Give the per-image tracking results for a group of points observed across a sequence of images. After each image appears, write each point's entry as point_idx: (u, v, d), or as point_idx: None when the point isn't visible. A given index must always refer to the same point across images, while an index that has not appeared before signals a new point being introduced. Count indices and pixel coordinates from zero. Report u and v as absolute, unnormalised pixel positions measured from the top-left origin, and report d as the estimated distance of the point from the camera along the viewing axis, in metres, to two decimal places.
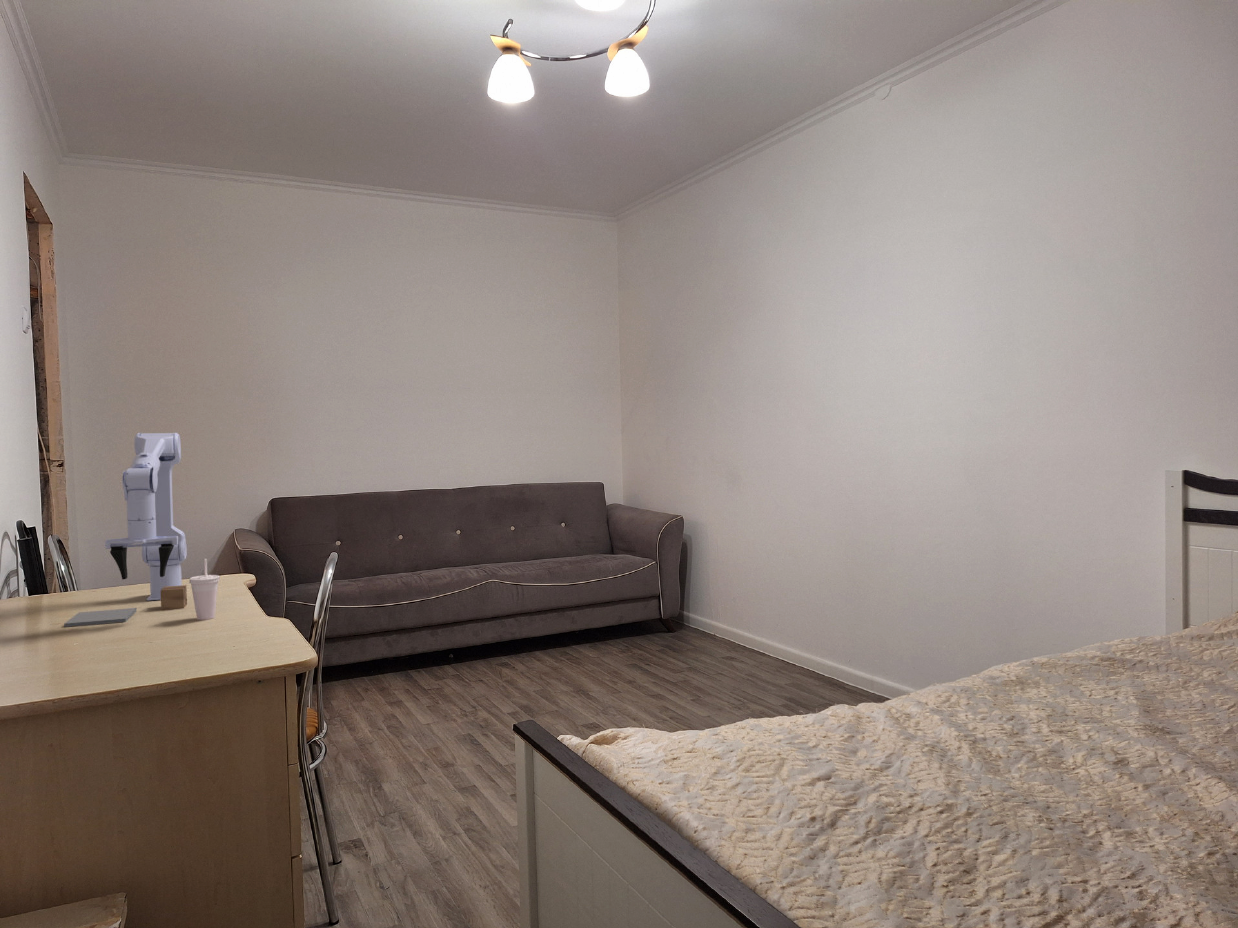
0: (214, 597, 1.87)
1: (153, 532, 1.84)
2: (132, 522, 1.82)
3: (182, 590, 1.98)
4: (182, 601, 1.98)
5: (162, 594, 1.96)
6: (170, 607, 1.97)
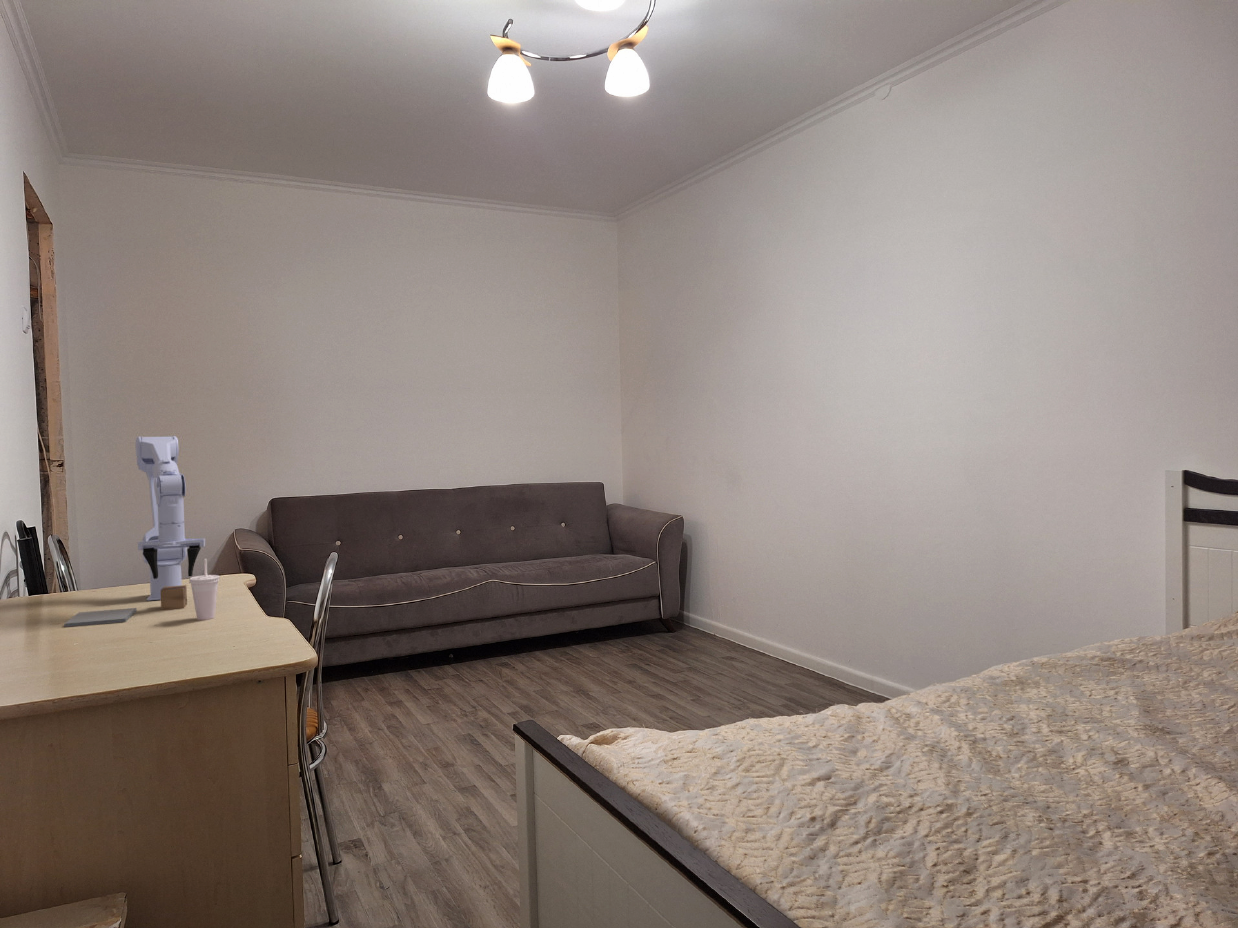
0: (214, 597, 1.87)
1: (182, 535, 1.98)
2: (163, 525, 1.96)
3: (182, 590, 1.98)
4: (182, 601, 1.98)
5: (162, 594, 1.96)
6: (170, 607, 1.97)
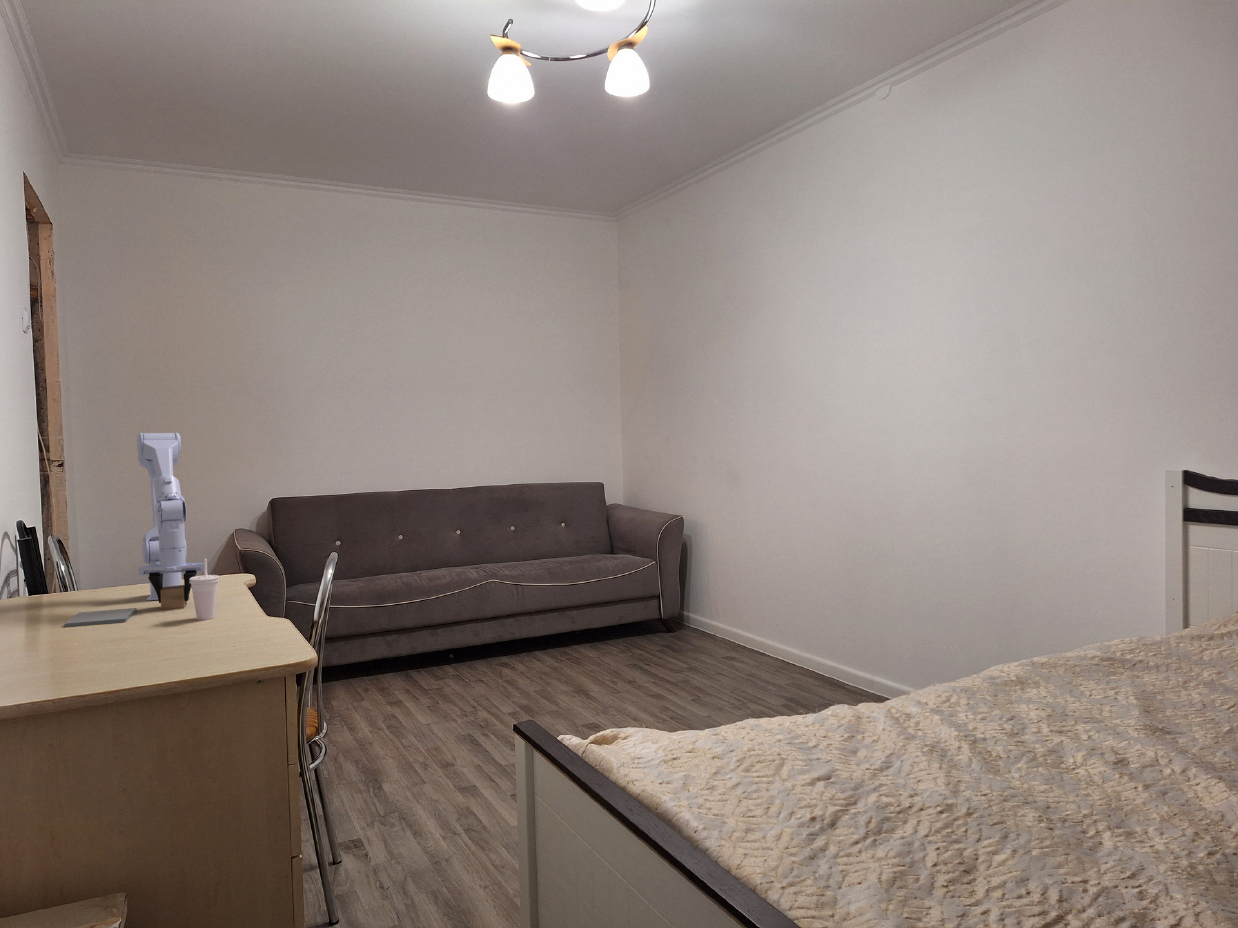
0: (214, 597, 1.87)
1: (183, 559, 1.99)
2: (164, 550, 1.96)
3: (182, 590, 1.98)
4: (182, 601, 1.98)
5: (162, 594, 1.96)
6: (170, 607, 1.97)
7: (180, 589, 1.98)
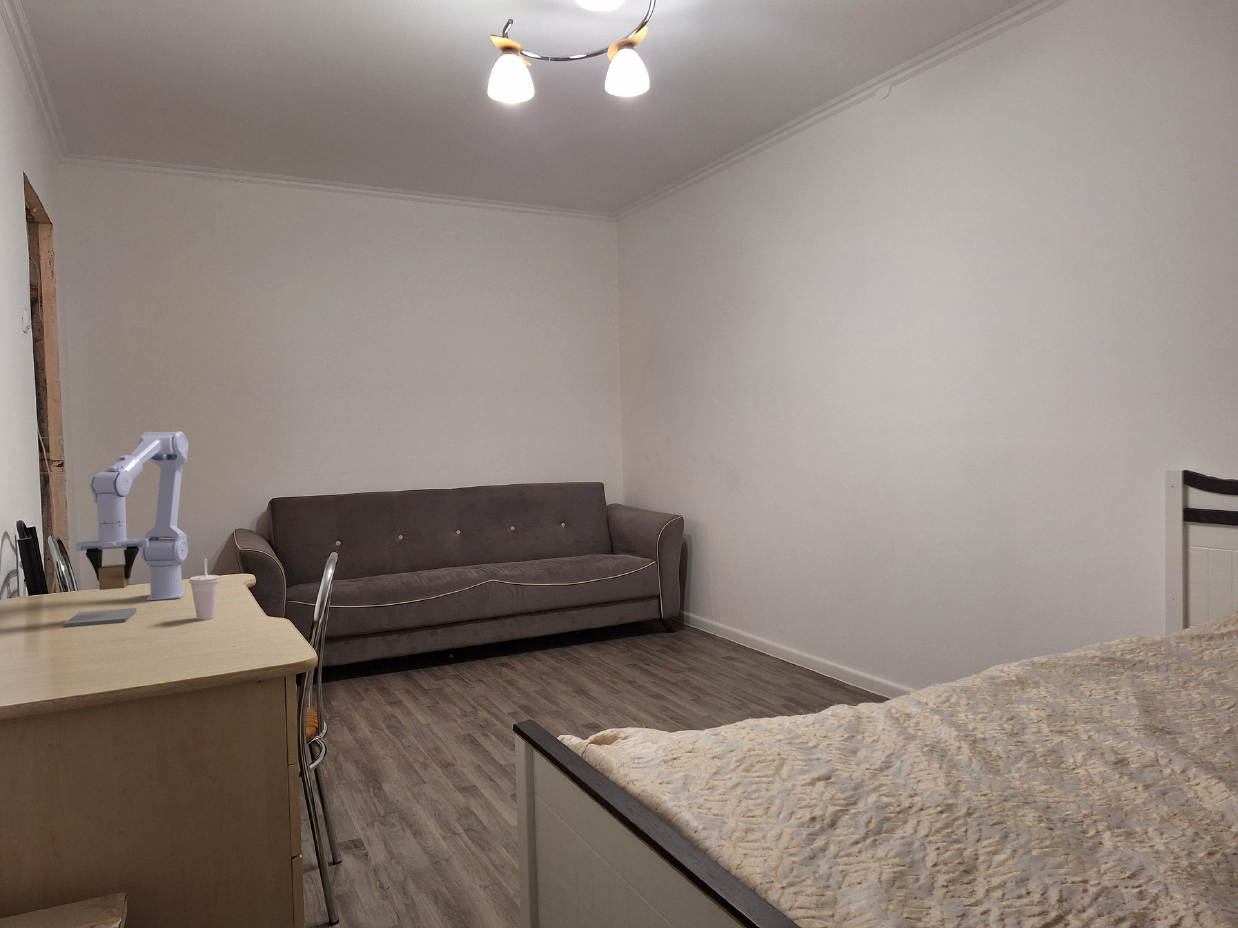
0: (214, 597, 1.87)
1: (123, 535, 1.89)
2: (102, 525, 1.86)
3: (122, 569, 1.87)
4: (122, 580, 1.88)
5: (100, 573, 1.86)
6: (109, 586, 1.87)
7: (120, 568, 1.87)
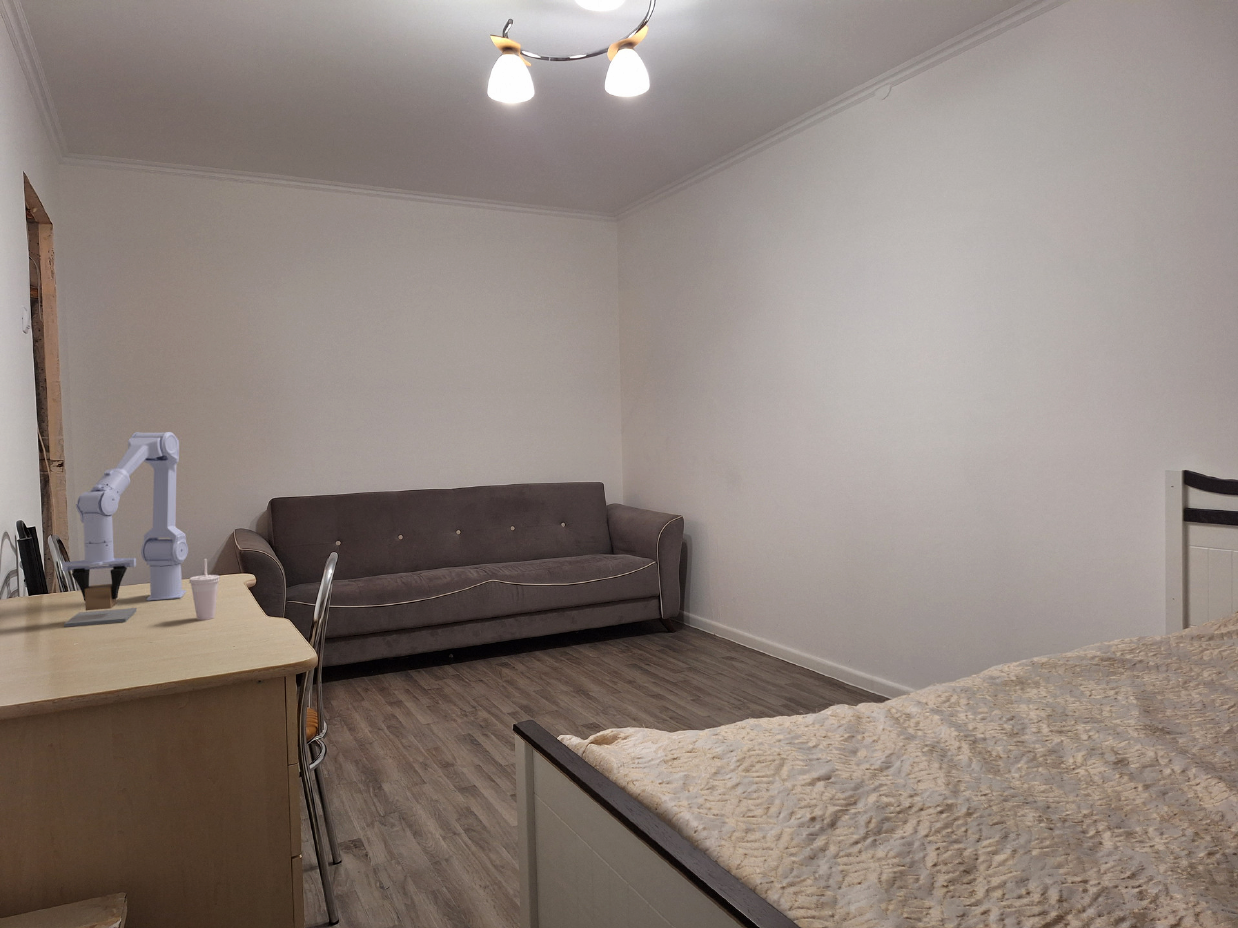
0: (214, 597, 1.87)
1: (110, 554, 1.87)
2: (89, 545, 1.84)
3: (108, 589, 1.86)
4: (108, 600, 1.86)
5: (86, 593, 1.84)
6: (95, 607, 1.85)
7: (106, 588, 1.85)
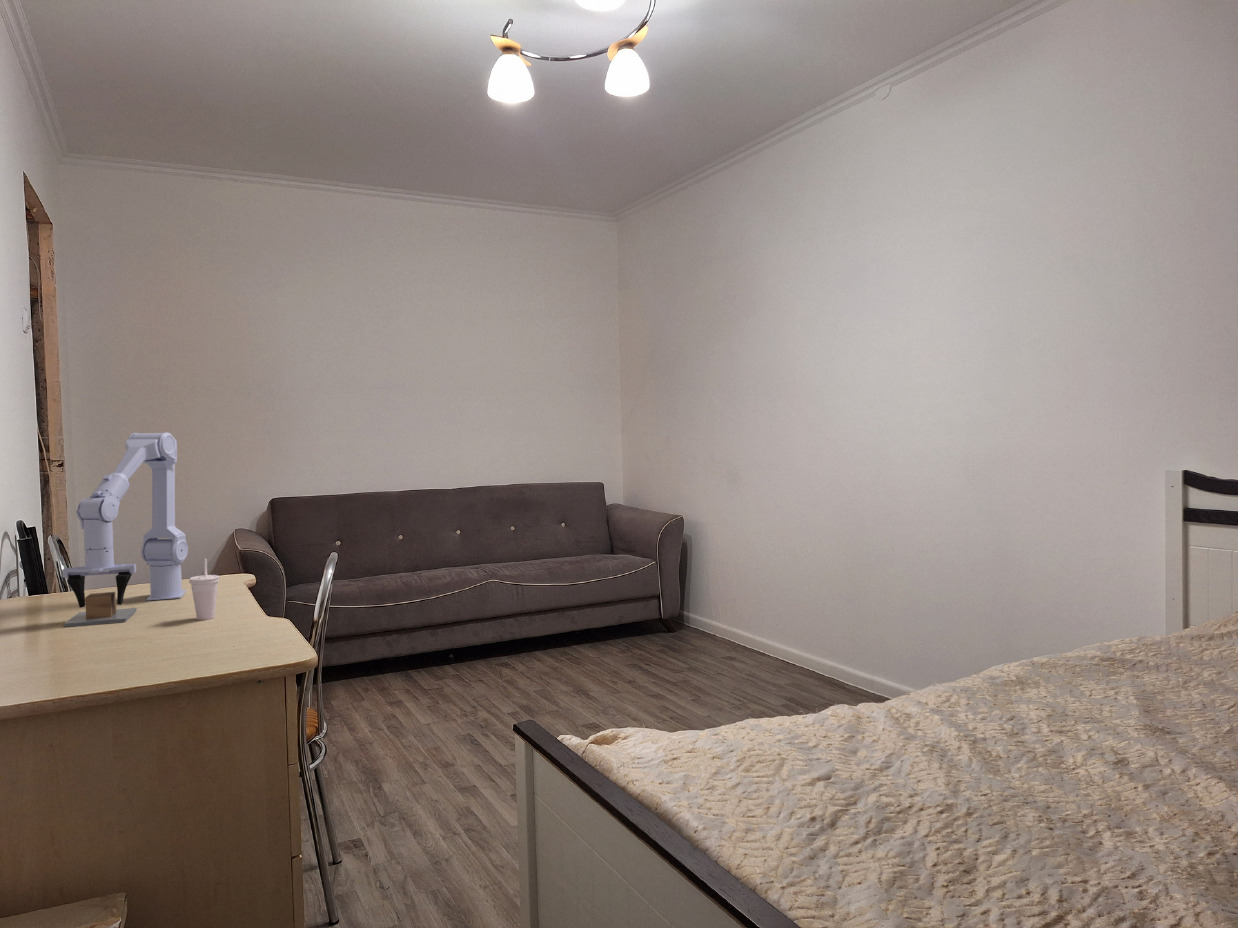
0: (214, 597, 1.87)
1: (110, 561, 1.87)
2: (89, 551, 1.84)
3: (109, 597, 1.86)
4: (109, 609, 1.86)
5: (87, 601, 1.84)
6: (96, 615, 1.85)
7: (107, 596, 1.86)
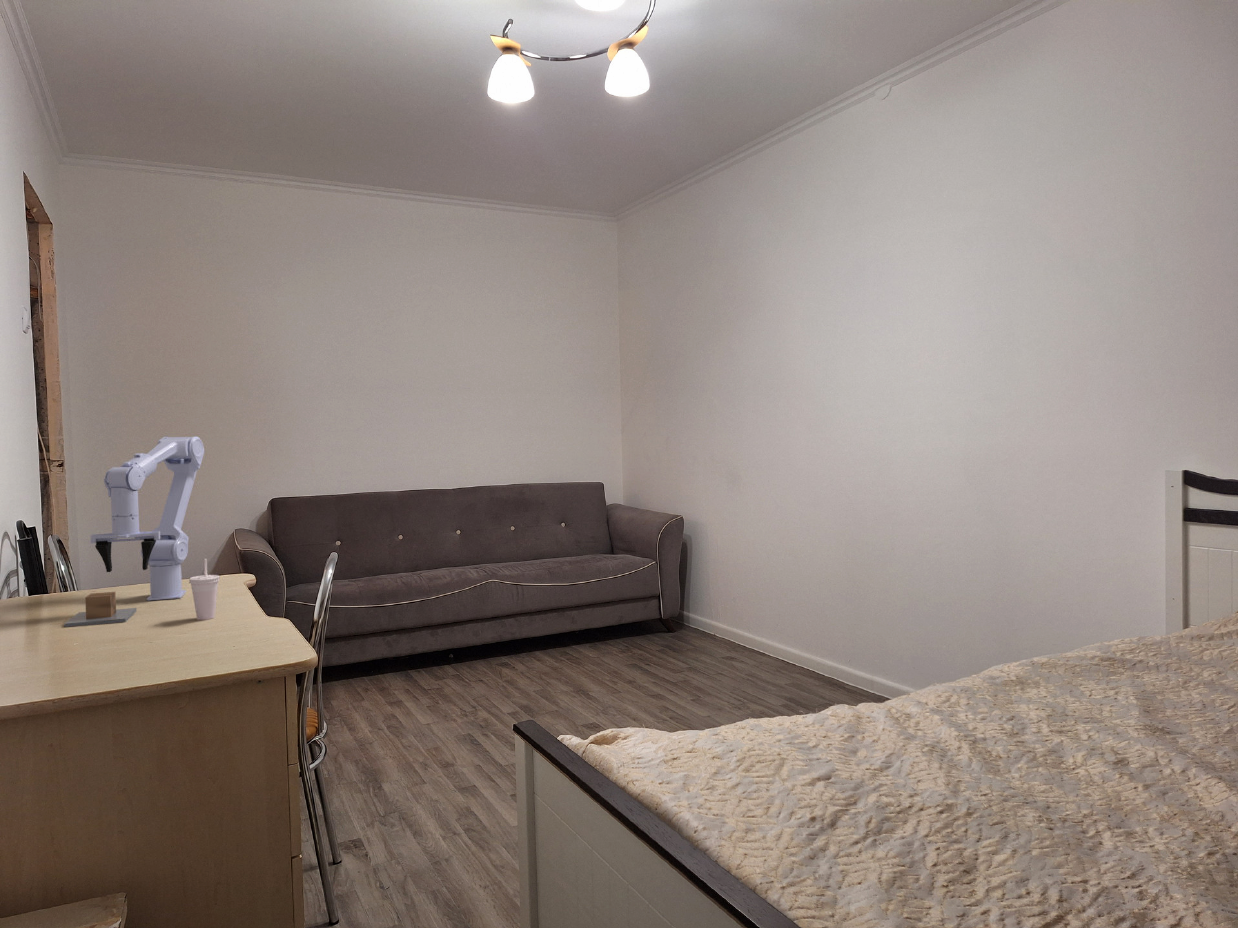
0: (214, 597, 1.87)
1: (136, 527, 1.95)
2: (116, 518, 1.93)
3: (109, 597, 1.86)
4: (109, 609, 1.86)
5: (87, 601, 1.84)
6: (96, 615, 1.85)
7: (107, 596, 1.86)
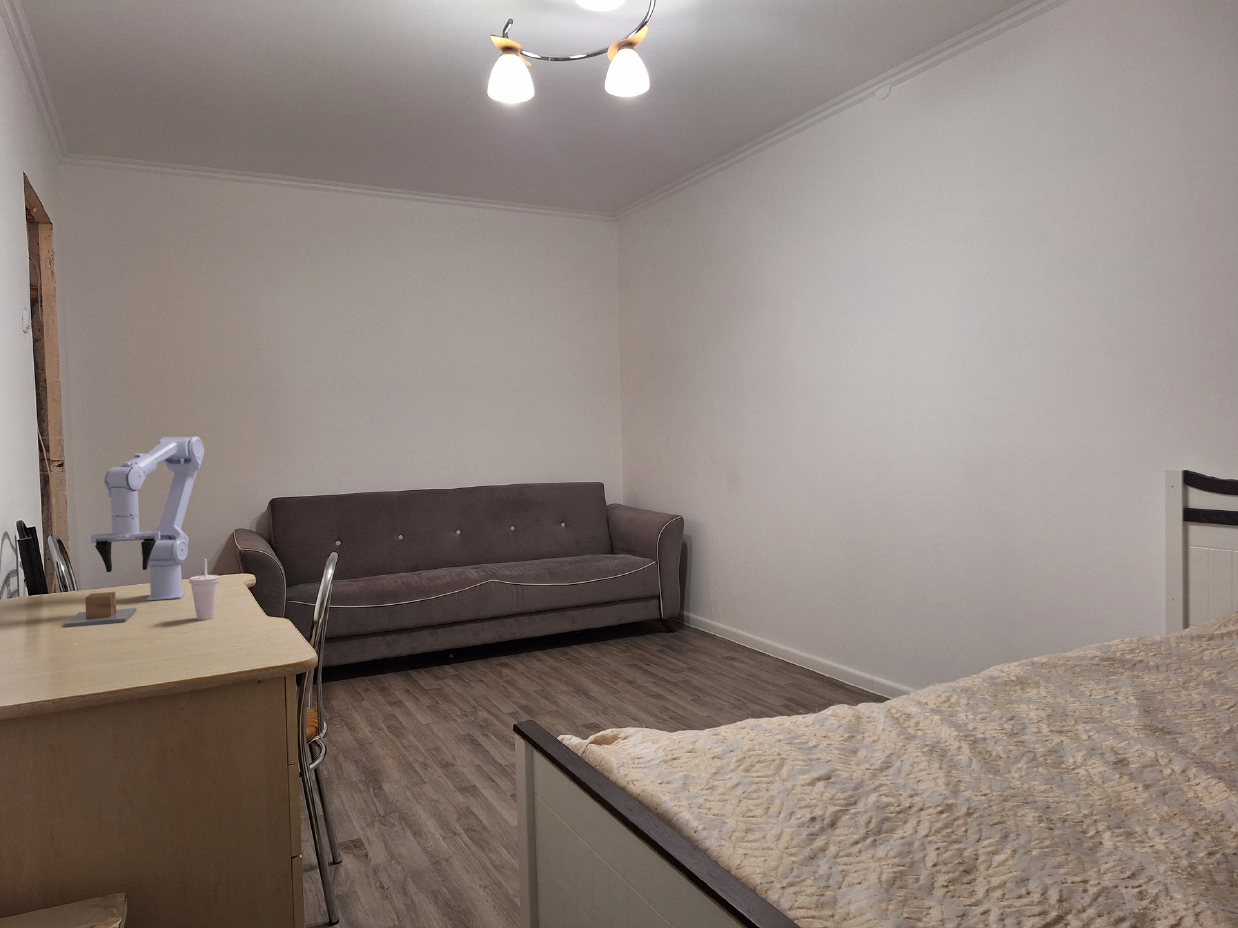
0: (214, 597, 1.87)
1: (136, 527, 1.95)
2: (116, 518, 1.93)
3: (109, 597, 1.86)
4: (109, 609, 1.86)
5: (87, 601, 1.84)
6: (96, 615, 1.85)
7: (107, 596, 1.86)
